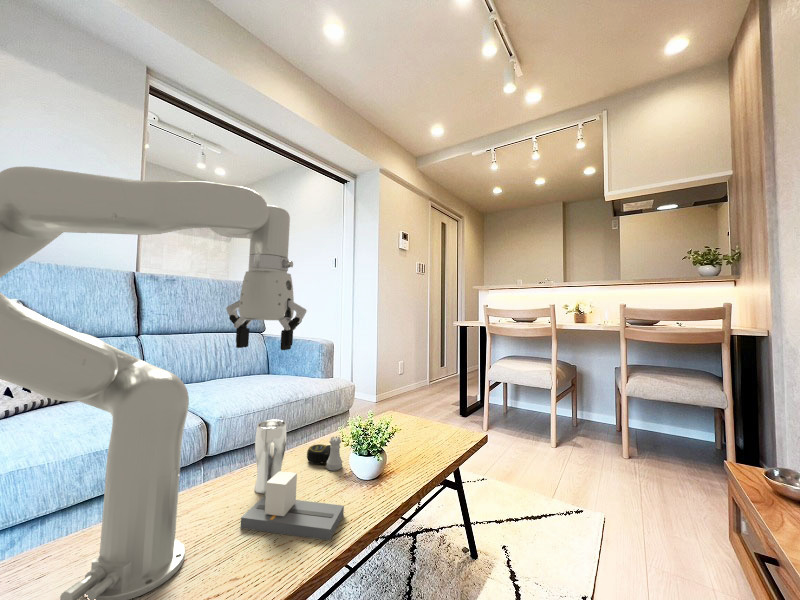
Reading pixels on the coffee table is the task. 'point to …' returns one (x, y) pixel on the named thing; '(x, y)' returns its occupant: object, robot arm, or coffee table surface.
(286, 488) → the fader knob
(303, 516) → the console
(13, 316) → the robot arm
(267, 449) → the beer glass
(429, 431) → the coffee table surface
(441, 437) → the coffee table surface
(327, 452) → the tape measure
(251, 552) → the coffee table surface
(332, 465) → the rook chess piece
